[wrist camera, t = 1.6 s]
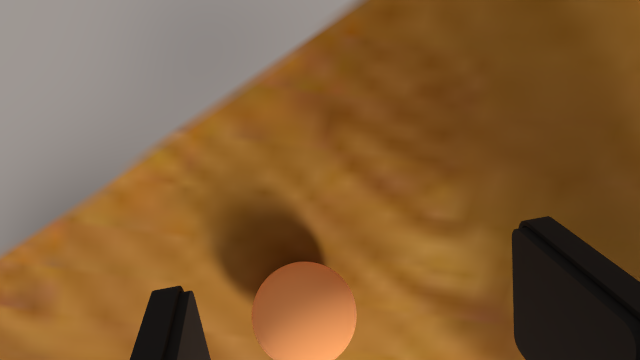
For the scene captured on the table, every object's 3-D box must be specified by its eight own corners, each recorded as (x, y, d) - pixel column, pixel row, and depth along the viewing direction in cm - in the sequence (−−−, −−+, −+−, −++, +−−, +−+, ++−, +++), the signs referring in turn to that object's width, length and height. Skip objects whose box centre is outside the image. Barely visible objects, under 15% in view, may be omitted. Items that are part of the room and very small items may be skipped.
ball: (340, 236, 30) (359, 285, 25) (352, 318, 32) (372, 380, 27) (243, 254, 30) (242, 308, 25) (260, 336, 32) (263, 403, 26)
